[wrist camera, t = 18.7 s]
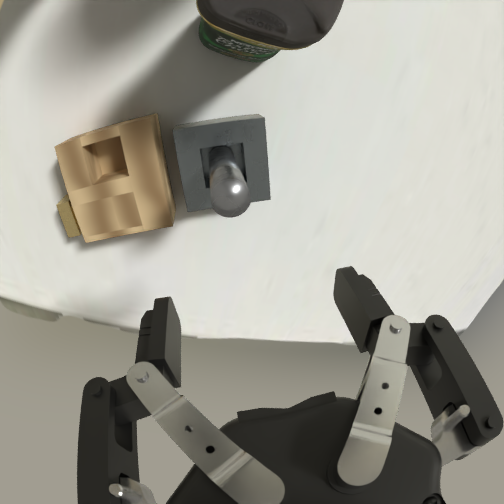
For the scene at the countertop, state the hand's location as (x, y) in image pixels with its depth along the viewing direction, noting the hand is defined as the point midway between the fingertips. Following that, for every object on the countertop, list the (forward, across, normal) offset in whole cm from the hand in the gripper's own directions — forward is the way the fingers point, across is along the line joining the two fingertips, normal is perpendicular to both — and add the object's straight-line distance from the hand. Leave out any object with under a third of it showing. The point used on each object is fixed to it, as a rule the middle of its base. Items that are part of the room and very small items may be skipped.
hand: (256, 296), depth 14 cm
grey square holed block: (+25, 0, 0) cm, 25 cm away
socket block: (+25, +13, 0) cm, 29 cm away
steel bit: (+24, 0, 0) cm, 24 cm away
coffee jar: (+26, -4, -16) cm, 31 cm away
